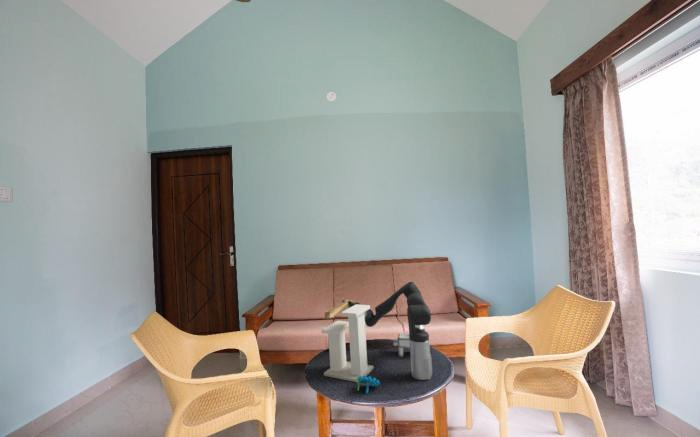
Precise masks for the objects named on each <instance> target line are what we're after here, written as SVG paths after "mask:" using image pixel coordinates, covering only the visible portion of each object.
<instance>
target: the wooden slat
mask: <svg viewBox="0 0 700 437" xmlns="http://www.w3.org/2000/svg"><path fill="white" fill-rule="evenodd" d="M344 301H345V302H343V303H342V302H341V303H339V304H337V305H334V306H333V307H331V308H329V309H326V310H325V311H324V318H325V319H331V318H333V317H335V316H337V315H338V314H340V313H341V312H343V311H345V310H347V309H348V308H349V307H351V306H349V305H348V301H351V302H354V300H352V299H346V300H344Z"/></svg>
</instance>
